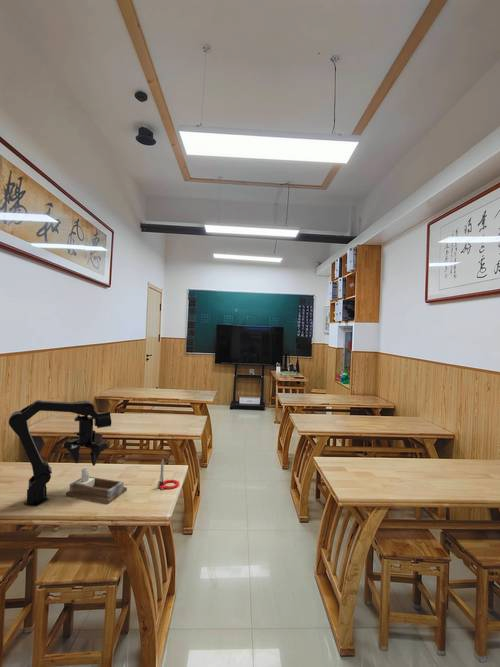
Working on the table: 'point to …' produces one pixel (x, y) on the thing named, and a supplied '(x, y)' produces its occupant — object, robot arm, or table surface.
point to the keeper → (86, 478)
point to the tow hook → (166, 480)
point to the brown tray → (97, 490)
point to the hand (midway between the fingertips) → (85, 464)
